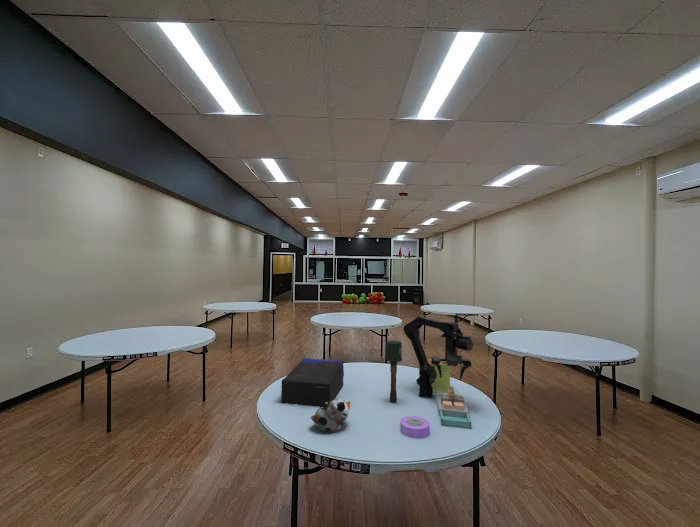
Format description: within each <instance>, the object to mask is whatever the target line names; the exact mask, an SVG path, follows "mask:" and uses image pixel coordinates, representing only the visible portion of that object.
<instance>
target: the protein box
mask: <svg viewBox="0 0 700 527" xmlns="http://www.w3.org/2000/svg"><path fill="white" fill-rule="evenodd" d="M427 360H428V363H429V364H430V365H431V366H434V364H432V362H431V358H427ZM440 365H441V374H442V378H441V377H440V374H439V370H438V368H437V366H434V367H435V371H436V372H437V373H436V375H437V377H436V380H434V383H432V384H431V385H432V387H433V393H447V387H451V366H448V365H447V363H441V362H440ZM419 377H420V365H419V364H418V378H419Z"/></svg>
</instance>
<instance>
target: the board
mask: <svg viewBox="0 0 700 527" xmlns="http://www.w3.org/2000/svg"><path fill="white" fill-rule="evenodd" d="M435 393H436V405H437V412H438V417H440V411H442V415H443V416H450V417H459V418H466V413H468V415H469V416H470V412H469V408H468V406H467V404H466V401H465V398H464V396H463V395H459V399H463V400H464V411H462V410H455V409H454V406H453V405H452V409H443V404H441V397H444V393H438V392H435Z"/></svg>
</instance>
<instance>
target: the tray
mask: <svg viewBox="0 0 700 527" xmlns="http://www.w3.org/2000/svg"><path fill="white" fill-rule="evenodd" d="M439 418H440V424H441V426H444V427H451V428H453V427H454V428H460V429H461V428H463V429H471V430H472V420H471V419H470V418H471V417H470V414H469V415H468V413H466V418H459V417H450V416H443V415H442V411H440V416H439Z"/></svg>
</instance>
